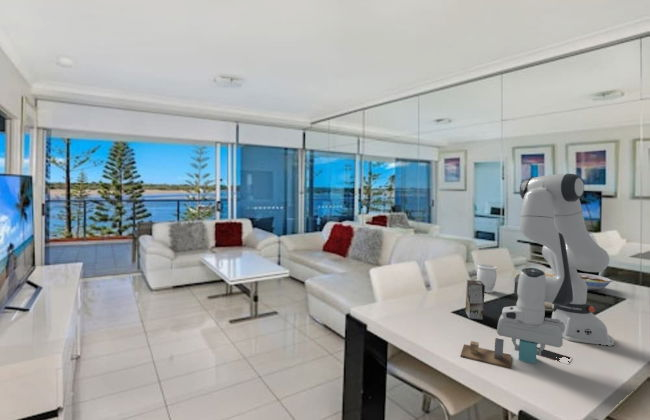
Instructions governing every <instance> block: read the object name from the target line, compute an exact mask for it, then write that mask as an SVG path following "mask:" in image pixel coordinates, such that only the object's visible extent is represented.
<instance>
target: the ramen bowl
mask: <svg viewBox="0 0 650 420" xmlns="http://www.w3.org/2000/svg"><path fill="white" fill-rule="evenodd" d="M578 274H579V276H580V277H581V278H582V279H583V280H584V281H585V282H586V284H587V291H595V290H601V289H604V288H606V287H607V286H609V284H610V283H612V279H610V278H608V277H605V276H601V275H596V274H591V273H586V272H584V273H582V272H578Z"/></svg>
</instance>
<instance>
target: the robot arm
mask: <svg viewBox="0 0 650 420" xmlns="http://www.w3.org/2000/svg"><path fill="white" fill-rule="evenodd" d="M584 192H585V184H584V181H583V178H582V177H580V176H579V175H578V174H575V173H565V174H560V173H558V174H557V173H555V174H548V175H539V176H532V177H528V178H525V179H524V180H523V181H522V182H521V184H520V186H519V195H520V197H521V199H522V202H521V207H520V214H519V215H520V217H519V230H520V231H521V233H522V235H523V236H525V237H526V238H527V239H529V240H530V241H532V242H534V243H537V244H539V245H542V249H541V254H542V257H543V259H544V260H545V261H547V263H548V265H549V266H550V268H551V270H552V273H553V276H551V275H546V273H545V271H543V270H541V269H539V268H535V267H525V268H522V269H521V270H520V271H519V274H518V275H516V277H514V287H513V288H514V290H513V292H514V294H515V295H516V296H517V301H516V302H515V303H516V304H515V305H511V306H504V307H503V308H502V310H501V314H500V316H499V318H498V322H497V327H496V328H497V329H496V333H497V334H498V336H501V337H505V338H511V342H512V344H513V346H514V351H516V352H519V344H517V340H524V341H529V342H534V343H537V344H539V345H540V347H538V348H539V349H537V353H536V356H539V357H542V356H541V351H542V350H543V349H546V346H549V347H555V348H561V347H563V343H564V342H563V339H566V341H570V342H576V343H585V344H593V345H599V344H601V345H600V346H606V345H608V346H607V347H613V346H615V340H614V337H612V336H611V335H610V334H609V333H608V328H607V326H606V324H605V323H604V321H602V320H601V319H600V318H598V317H597V315H595V314H594V312H595V311H596V309H595V307H594V306H593V305H591V303H589V302H587V297H588V290H587V284H586V282H585V281H584V280H583V279H582V278H581V277H580V276H579V274H578V273H579V272H578V271H577V270H579V271H582V272H585V273H586V272H587V273H589V272H590V273H601V272H603V271H605V270H606V269H607V267H608V266H609V263H610V256H609V253H608V251H607V250H605V249H604V248H603V247H601V245H599V244H597V242H596V241H595V240H594V239H593V237H592V236H591V235H590V233H589V231H588V229H587V226H586V221H585V218H584V212H583V209H582V204H581V200H580V198H581V197H582V196H583V195H584ZM545 303H549V304H551V305H552V306H551V307H552V314H551V317H545V312H546V306H545ZM612 345H613V346H612Z"/></svg>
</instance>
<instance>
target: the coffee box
mask: <svg viewBox="0 0 650 420" xmlns="http://www.w3.org/2000/svg"><path fill="white" fill-rule="evenodd" d="M465 289H466V292H465V293H466V295H465V313H466V315H467V318H469V319H473V320H483V319H484V307H485V306H484V304H485V285H484V284H483V283H482V282H481V281H477V280H474V279H473V280H471V279H466V288H465Z"/></svg>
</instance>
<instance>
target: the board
mask: <svg viewBox="0 0 650 420" xmlns="http://www.w3.org/2000/svg"><path fill="white" fill-rule="evenodd" d="M479 346H480V345H479V342H478V341H473V340H470V345H469V344H465V343H464V344H463V347H462V349H461V353H460V358H465V359H469V360H474V361H478V362H481V363H486V364H490V365H494V366H498V367H503V368H507V369H510V370H511V369H512V354H509V353H505V352H503V358H502V360H499V359H495V358H494V352H495V350H491V349H487V348H484V347H483V348H482V347H479Z"/></svg>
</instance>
